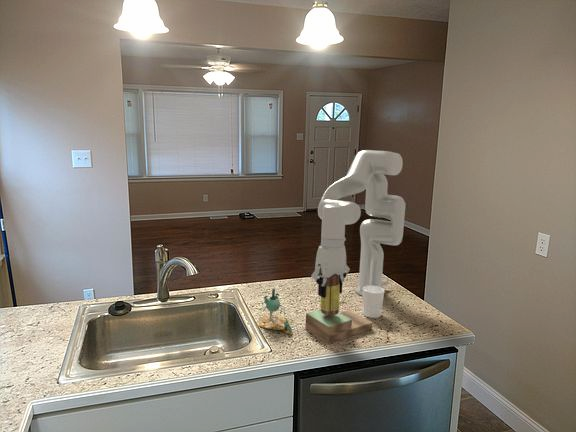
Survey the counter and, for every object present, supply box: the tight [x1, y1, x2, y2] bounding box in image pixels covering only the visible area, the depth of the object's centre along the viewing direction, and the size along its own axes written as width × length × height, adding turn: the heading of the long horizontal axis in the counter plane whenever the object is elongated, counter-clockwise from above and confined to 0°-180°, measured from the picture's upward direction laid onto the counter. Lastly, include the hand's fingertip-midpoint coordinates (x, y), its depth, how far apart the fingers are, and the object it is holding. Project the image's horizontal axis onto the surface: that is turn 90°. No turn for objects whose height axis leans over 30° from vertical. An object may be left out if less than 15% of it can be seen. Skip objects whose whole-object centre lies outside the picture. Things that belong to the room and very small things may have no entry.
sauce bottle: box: [320, 274, 340, 315], centre depth 142 cm, size 6×6×20 cm
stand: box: [304, 308, 374, 345], centre depth 147 cm, size 20×12×6 cm, turn 125°
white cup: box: [362, 286, 385, 319], centre depth 160 cm, size 8×8×10 cm
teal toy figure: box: [258, 287, 293, 336], centre depth 148 cm, size 10×18×15 cm, turn 30°
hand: (330, 293), depth 143 cm, fingers closed on sauce bottle, 6 cm apart
